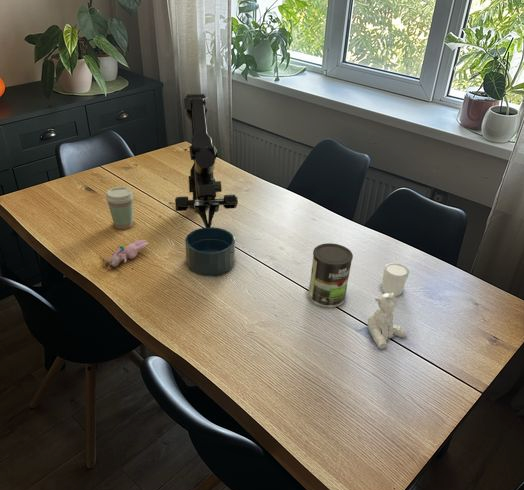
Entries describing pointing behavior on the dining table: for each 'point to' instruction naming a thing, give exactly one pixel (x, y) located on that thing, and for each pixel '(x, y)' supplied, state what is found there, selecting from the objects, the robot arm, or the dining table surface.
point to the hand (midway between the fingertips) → (208, 230)
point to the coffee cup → (121, 206)
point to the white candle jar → (394, 278)
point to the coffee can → (329, 274)
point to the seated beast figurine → (384, 321)
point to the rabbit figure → (125, 253)
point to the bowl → (210, 251)
